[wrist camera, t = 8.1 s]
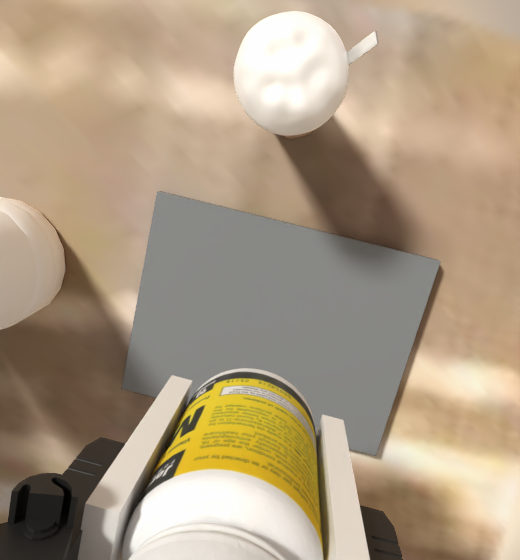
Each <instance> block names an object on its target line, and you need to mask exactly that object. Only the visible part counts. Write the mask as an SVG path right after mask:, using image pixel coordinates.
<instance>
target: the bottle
mask: <svg viewBox="0 0 520 560" xmlns="http://www.w3.org/2000/svg"><path fill="white" fill-rule="evenodd" d="M65 270H66V269H65V258H64V248H63V246H62V244H61V241H60V239H59V237H58V235H57V232H56V230H55V228H54V227H53V226H52V225H51V224H50V223H49V221H48V220H47V219H46V218H45V217H44V216H43V215H42V214H41V212H39V211H38V210H36V209H34V208H33V207H31V206H29V205H27V204H26V203H24V202H22V201H19V200H14V199H9V198H3V197H0V329H5V328H8V327H10V326H13V325H15V324H17V323H18V322H20V321H22V320H24V319H25V318H27V317H29V316H30V315H32V314H34V313H35V312H37V311H39V310H40V309H42V308H44V307H45V306H47V305H49V304H50V302H51V301H52V300H53V298H54V297H55V296H56V294H57V293H58V292H59V290H60V289H61V285H62V281H63V278H64V274H65Z"/></svg>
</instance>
